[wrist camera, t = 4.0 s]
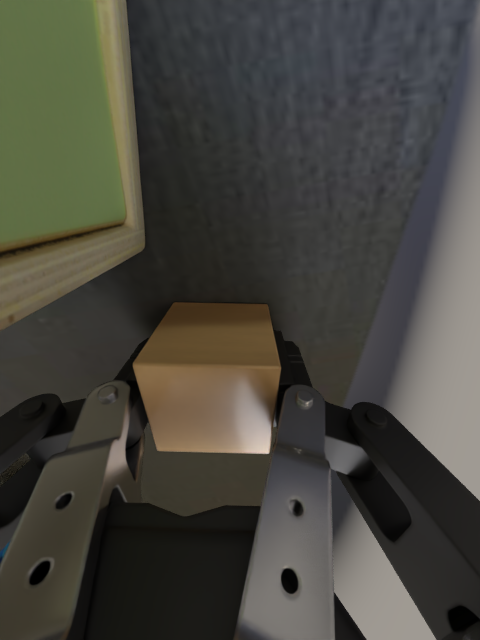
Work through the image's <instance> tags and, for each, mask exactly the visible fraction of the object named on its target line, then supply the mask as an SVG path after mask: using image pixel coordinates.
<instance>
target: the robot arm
mask: <svg viewBox="0 0 480 640" xmlns="http://www.w3.org/2000/svg"><path fill="white" fill-rule="evenodd" d="M273 332H274V337H275V341H276V346H277V351H278V355H279V360H280V365H281V372H280V380H279V387H278V395H277V402H276V409H275V417H274V424H273V426H277V433H276V437H275V442H274V445H273V449H272V454H271V459H270V463H269V468H268V473H267V478H266V483H265V488H264V493H263V498H262V502H261V506H229V505H225V506H222V507H218V508H215V509H211V510H208V511H205V512H201V513H198V514H194V515H191V516H187V517H183V516H180V515H177V514H175V513H172V512H170V511H167V510H165V509H162V508H159V507H157V506H154V505H152V504H149V503H142V497H141V476H142V465H143V454H144V442H145V434H144V429H145V427H146V424H147V423H149V421H148V417H147V414H146V410H145V407H144V404H143V400H142V397H141V393H140V390H139V386H138V383H137V379H136V376H135V373H134V369H133V362H134V361H135V359H136V358H137V356H138V355H139V353H140V352H141V350H142V349H143V347H144V346H145V344H146V343H147V341H148V340H149V338H147V339H146V340H144V341H143V342H142V343H140V344H139V345H138V347H137V348H136V349H135V351H134V353H133V354H132V355H131V356H130V359H128V361H127V362H126V363H125V365H124V366H123V368H122V369H121V370H120V372H119V373H118V375H117V376H116V377H115V379H114V380H113V381H109V382H106V383H103V384H101V385H99V386H97V387H96V388H94V389H93V390H92V391H91V392H90V393H89V394H88V396H87V398H85V399H80V400H76V401H71V402H66V403H62V402H61V400H60V398H59V397H58V396H57V395H55V394H41V395H38V396H35V397H32V398H30V399H27V400H26V401H24V402H22V403H20V404H19V405H17V406H16V407H14V408H13V409H11V410H10V411H9V412H7V413H6V414H4V415H3V416H1V417H0V474H1V473H2V472H3V471H5V470H6V469H7V468H8V467H9V466H10V465H11V464H13V463H14V462H15V461H16V460H17V459H18V458H20V457H21V456H22V455H23V454H24V453H25V452H26V453H27V454H28V455H29V457H30V458H31V460H30V461H29V462H27V463H26V464H25V465H24V466H23V467H22V468H21V469H20V470H19V471H17V472H16V473H15V474H14V475H13V476H12V477H11V478H10V479H9V480H8V481H6V482H5V483H4V484H3V485H2V486H1V487H0V552H1V550H2V549H3V548H4V547H5V546H6V545H7V544H8V543H9V542H10V543H9V545H8V548H7V550H6V552H5V554H4V557H3V559H2V561H1V563H0V640H366V638H365V637H364V636H363V634H362V632H361V631H360V629H359V628H358V626H357V625H356V623H355V622H354V621H353V619H352V618H351V616H350V615H349V613H348V612H347V610H346V609H345V607H344V606H343V604H342V603H341V602H340V600H339V599H338V597H337V596H336V594H335V593H334V580H333V542H332V503H331V469H333V470H335V471H336V473H337V475H338V476H339V478H340V480H341V481H342V483H343V485H344V486H345V488H346V490H347V491H348V493H349V494H350V496H351V498H352V500H353V501H354V503H355V505H356V506H357V508H358V509H359V511H360V513H361V514H362V516H363V518H364V520H365V521H366V523H367V525H368V526H369V528H370V530H371V531H372V533H373V534H374V536H375V538H376V539H377V541H378V543H379V545H380V546H381V548H382V550H383V551H384V553H385V554H386V556H387V558H388V559H389V561H390V563H391V565H392V566H393V568H394V570H395V571H396V573H397V574H398V576H399V578H400V580H401V581H402V583H403V585H404V586H405V588H406V589H407V591H408V593H409V595H410V596H411V598H412V599H413V601H414V603H415V605H416V606H417V608H418V610H419V611H420V613H421V615H422V616H423V618H424V619H425V621H426V623H427V625H428V626H429V628H430V629H431V631H432V633H433V635H434V636H435V638H436V639H437V640H480V501H479V500H478V499H477V498H476V497H475V496H474V495H473V494H472V493H471V492H470V491H469V490H468V489H467V488H466V487H465V486H464V485H463V484H462V483H461V482H460V481H459V480H458V479H457V478H456V477H455V476H454V475H453V474H452V473H451V472H450V471H449V470H448V469H447V468H446V467H445V466H444V465H443V464H442V463H440V462H439V461H438V459H437V458H436V457H435V456H434V455H433V454H431V453H430V452H429V451H428V450H427V449H426V448H425V447H424V446H423V445H422V444H421V443H420V442H419V441H418V440H417V439H416V438H415V437H414V436H413V435H412V434H411V433H410V432H409V431H408V430H407V429H406V428H405V427H404V426H403V425H402V424H401V423H400V422H399V421H398V420H397V419H396V418H395V417H394V416H393V415H392V414H391V413H390V412H388V411H387V410H386V409H384V408H382V407H380V406H378V405H376V404H373V403H369V402H360V403H357V404H355V405H354V406H353V407H352V409H351V410H350V409H346V408H343V407H339V406H336V405H333V404H330V403H328V402H326V401H325V400H324V398H323V397H322V395H321V394H320V393H319V392H318V391H317V390H315V389H314V388H313V387H312V384H311V381H310V379H309V376H308V373H307V370H306V367H305V365H304V363H303V359H302V357H301V353H300V350H299V348H298V347H297V346H296V345H295V344H294V343H293V342H292V341H284V339H283V336H282V332H281V331H273ZM10 540H11V541H10Z"/></svg>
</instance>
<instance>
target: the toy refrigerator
mask: <svg viewBox="0 0 480 640" xmlns="http://www.w3.org/2000/svg"><path fill="white" fill-rule="evenodd" d="M144 248H145V228H144V216H143V203H142V190H141V181H140V167H139V153H138V141H137V128H136V116H135V104H134V92H133V81H132V68H131V54H130V42H129V31H128V19H127V5H126V0H0V331H2V330H3V329H5V328H7V327H9V326H11V325H12V324H14V323H16V322H18V321H19V320H21V319H23V318H25V317H26V316H28V315H30V314H32V313H34V312H35V311H37V310H39V309H41V308H43V307H44V306H46V305H48V304H50V303H51V302H53V301H55V300H57V299H59V298H60V297H62V296H64V295H66V294H67V293H69V292H71V291H73V290H74V289H76V288H78V287H80V286H81V285H83V284H85V283H87V282H88V281H90V280H92V279H94V278H95V277H97V276H99V275H101V274H102V273H104V272H106V271H108V270H110V269H112V268H113V267H115V266H117V265H119V264H120V263H122V262H124V261H126V260H127V259H129V258H131V257H132V256H134V255H136V254H138V253H139V252H141V251H142V250H143V249H144Z"/></svg>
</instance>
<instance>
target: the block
mask: <svg viewBox="0 0 480 640" xmlns="http://www.w3.org/2000/svg"><path fill="white" fill-rule="evenodd" d="M133 369H134V373H135V376H136V379H137V383H138V386H139V390H140V393H141V397H142V400H143V404H144V407H145V410H146V414H147V417H148V421H149V424H150V428H151V431H152V435H153V438H154V442H155V445H156V448H157V450H158V451H179V452H217V453H254V454H269V452H270V446H271V439H272V431H273V424H274V417H275V409H276V402H277V395H278V387H279V380H280V372H281V365H280V360H279V355H278V351H277V346H276V341H275V337H274V332H273V327H272V323H271V318H270V313H269V308H268V305H267V304H234V303H184V302H174V303H173V304H172V306H171V307H170V309H169V310H168V312H167V313H166V315H165V316H164V318H163V319H162V320H161V322H160V323H159V325H158V326H157V328H156V329H155V331H154V332H153V334H152V335H151V337H150V338H149V340H148V341H147V343H146V344H145V346H144V347H143V349H142V350H141V352H140V353H139V355H138V356H137V358H136V359H135V361H134V362H133Z"/></svg>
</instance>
